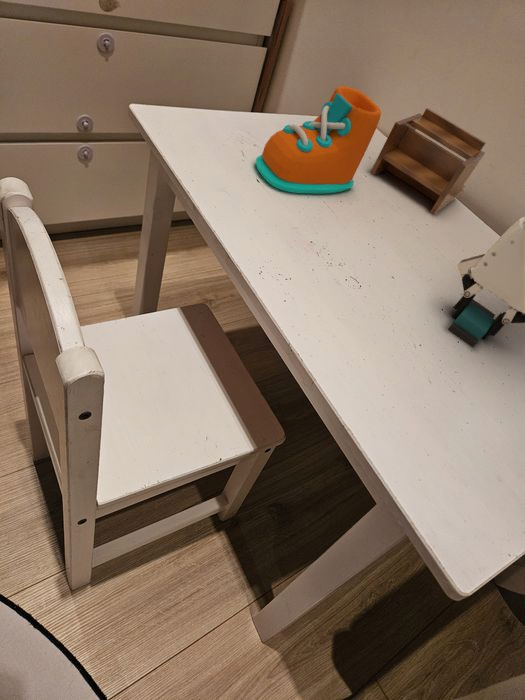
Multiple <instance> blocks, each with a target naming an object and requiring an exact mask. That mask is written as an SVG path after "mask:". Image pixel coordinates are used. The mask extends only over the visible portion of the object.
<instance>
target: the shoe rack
mask: <svg viewBox="0 0 525 700" xmlns="http://www.w3.org/2000/svg"><path fill="white" fill-rule="evenodd" d="M416 130H418V131H419V132H420V133H419V132H418V131H416ZM422 134H424V135H426V136H427V137H426V136H424V135H422ZM428 137H429V138H430V139H429V138H428ZM431 139H432V140H431ZM433 140H434V141H435V142H434V141H433ZM436 142H437V143H436ZM438 143H439V144H438ZM486 144H487V143H486V141H484V140H483V139H481V138H479V137H477V136H476V135H474V134H473V133H471V132H469V131H467V130H465V129H464V128H462V127H461V126H459V125H457V124H456V123H453V122H452V121H451V120H449V119H447V118H445V117H444V116H442V115H440V114H438V113H437V112H436V111H434V110H432V109H430V108H429V107H426V109H425V110H424V112H423V113H417V114H414V115H411V116H409V117H406V118H403V119H401V120H398V121H396V122H395V123H394V124H393V126H392V128H391V130H390V132H389V134H388V136H387V138H386V141H384V144H383V146H382V148H381V150H380V152H379V154H378V156H377V158H376V160H375V162H374V164H373V166H372V168H371V169H370V172H369V173H370V174H371V175H373V176H375V175H377V174H380V173H381V172H383V171H385V170H386V171H387V172H389V173H391V174H393V175H394V176H395V177H397V178H398V179H400V180H402V181H403V182H405V183H406V184H407V185H409V186H411V187H412V188H414V189H415V190H417V191H418V192H420V193H422V194H423V195H425V196H426V197H428V198H429V199H430V200H432V201H434V202H435V203H434V204H433V206H432V208H431V209H430V210H429V213H430V214H431V215H433V216H434V215H435V214H437V213H438V212H439V211H441V210H442V209H443V208H445V207H446V206H447V205H448V204H450V203H451V202H452V201H454V200H455V198H456V197H457V195H458V194H459V193H460V191H461V189H462V188H463V186H464V185H465V184H466V182H467V180H468V179H469V178H470V176H471V175H472V173H473V172H474V171H475V169H476V168H477V166H478V165H479V163H480V161H481V160H482V159H483V157H484V156H485V154H486V152H484V151H483V148H484V147H485V145H486ZM441 145H442V146H441ZM443 147H445V148H447V149H448V150H447V149H445V148H443ZM449 150H450V151H451V152H450V151H449ZM452 152H453V153H452ZM454 153H455V154H456V155H455V154H454ZM457 155H458V156H459V157H458V156H457ZM460 157H461V158H460ZM462 158H463V159H462Z"/></svg>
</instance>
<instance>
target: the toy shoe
mask: <svg viewBox="0 0 525 700" xmlns="http://www.w3.org/2000/svg"><path fill="white" fill-rule="evenodd" d="M381 115H382V111H381V109H380V107H379V106H378V105H377V104H376V103H375V102H374V101H373V100H372V99H370V97H368V96H367V95H366V94H365V93H363V92H362V91H361V90H358V89H357V88H353V87H349V86H344V85H343V86H338V87H336V88H335V90H334V91H333V93H332V95H331V97H330V98H329V100H328V101H327V102H325V103H324V104H323V106H322V107H321V111H320V114H319V115H318V116H317V117H316V118H315V119H314V120H306V121H304V122H303V123H302V125H298V124H287V125H285V126H284V127H283V129H281V130H279V131H276V132H275V133H274V134H272V135H271V136H270V137H269V139H268V140H267V141H266V143H265V144H264V147H263V150H262V153H261V154H260V155H258V156H256V159H255V165H256V168H257V171H258V172H259V173H260V175H261V177H262V178H263V179H264V180H265V181H266V182H267V183H268V184H269V185H271V186H272V187H273V188H275V189H278V190H280V191H283V192H286V193H293V194H307V195H309V194H310V195H311V194H312V195H316V194H317V195H318V194H319V195H321V194H323V195H324V194H334V193H341V192H345V191H347V190H349V189H351V188H352V187H353V186H354V185H355V182H354V177H355V175H356V172H357V171H358V168H359V166H360V164H361V162H362V161H363V158H364V156H365V153H366V152H367V150H368V147H369V145H370V143H371V141H372V139H373V137H374V134H375V133H376V130H377V129H378V125H379V123H380V120H381Z"/></svg>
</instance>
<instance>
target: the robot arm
mask: <svg viewBox="0 0 525 700" xmlns="http://www.w3.org/2000/svg"><path fill="white" fill-rule="evenodd" d="M456 266H457V269H458V272H459V275H460V276H461V283H462V288H463V292H462V296H461V298H460V299H459V300H458V301H457V302H456V303H455V305H454V306H453V307H452V308H453V309H454V310H455V311H454V313H453V314H452V315H451V317H452V318H453V319H456V318H457V317H458V316H459V315H460V314H461V312H462V311H463V310H464V309H465V308H466V307H467V306H468V304H469V303H470V302H471V301H472V300H473V299H475V297H476V296H477V293H479V292H480V291H481V290H483V289H485V290H486V291H488V292H489V293H490V294H492V295H494V296H495V297H497V298H498V299H500V300H501V301H503V303H505V304H507V305H508V308H507V309H506V311H503V312H500V313H499V314H498V315H497V316H495V317H496V318H495V317H494V322H493V323H492V325H491V326H490V328H489V329H488V331H487V332H486V333H485V335H484V336H483V337H482V338H481V339H482V340H486V339H487V338H488V337H489V336H492V337H495V336H496V335H497V334H498V333H499V332H500V331H501V330H502V329H503V327H505V326H509V325H510V324H525V216H523V217H520V218H519V219H518V220H517V221H516V222H514V223H513V224H512V225H511V226H510V227H508V229H507V230H505V231H504V233H503V234H501V236H500V237H499V238H498V239H497V240H496V241H495V242H494V243H493V244H492V245H491V247H490V248H489V249H488V250H487V251H486V252H485V253H482V254H479V255H476V256H472V257H468V258H465V259H461V260H460V261H459V262H458V263H457V265H456ZM472 268H473V269H472Z"/></svg>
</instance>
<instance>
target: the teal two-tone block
mask: <svg viewBox="0 0 525 700" xmlns="http://www.w3.org/2000/svg"><path fill="white" fill-rule="evenodd" d="M495 317H496V314H495V313H494V312H492V311H491V310H490V309H488V308H487V307H486V306H484V305H482V304H481V303H480V302H478V301H476V300H475V298H473V300H472V301H471V302H470V303H469V304H468V306H467V307H466V308H465V309H464V310H463V311H462V312H461V314H460V315H459V316H458V317H457V318H455V319H454V321H453V322H452V323H451V325H450V326H449V327H448V329H447V331H449V332H451V334H453V335H455V337H457V338H458V339H460V340H461V341H462V342H464V343H465V344H467V345H468V346H470V347H471V348H474V347H475V346H476V345H477V344H478V342H479V341H480V340H481V339H482V337H483V336H484V335H485V333H486V332H487V331H488V329H489V328H490V326H491V325H492V323H493V322H494V320H495Z"/></svg>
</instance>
